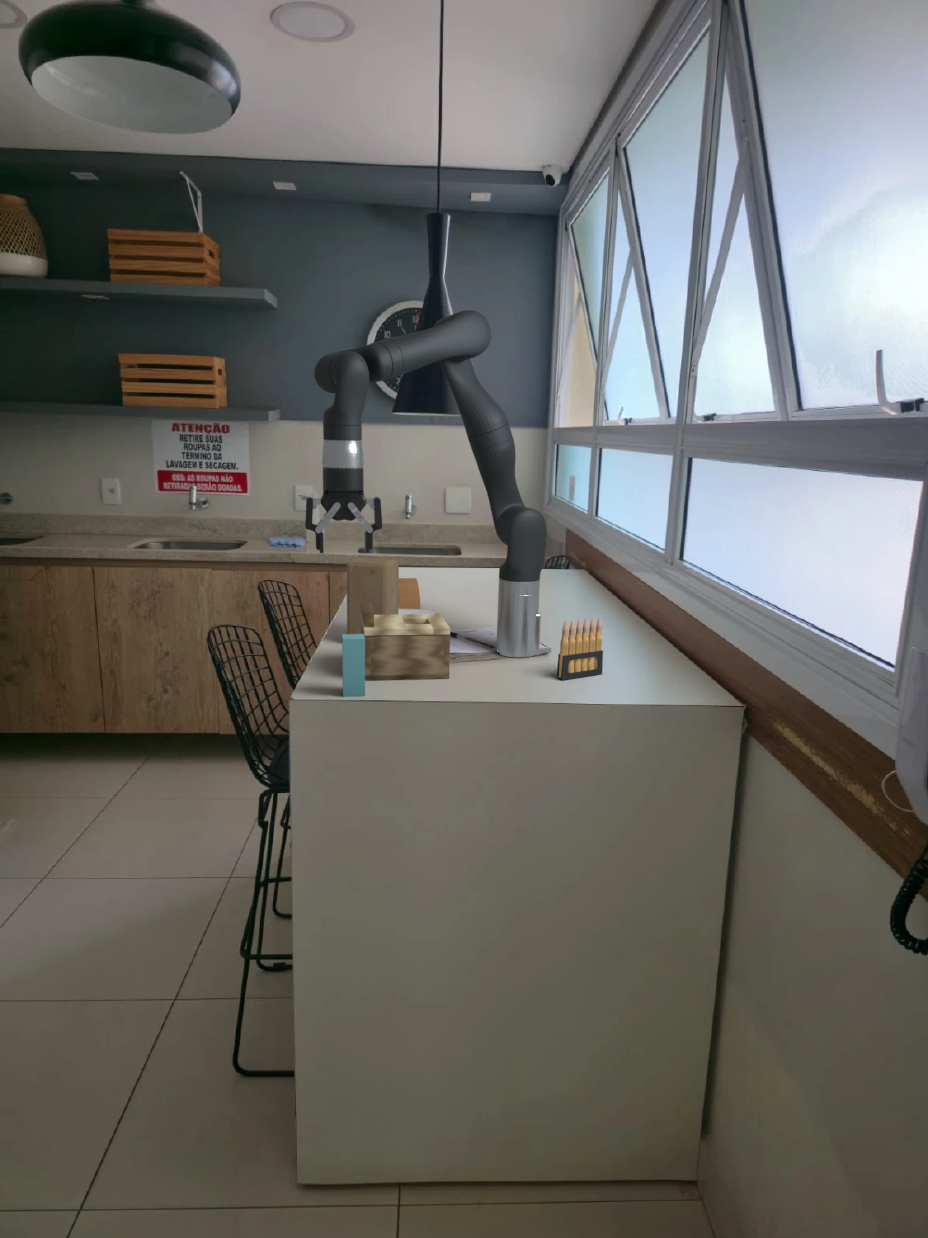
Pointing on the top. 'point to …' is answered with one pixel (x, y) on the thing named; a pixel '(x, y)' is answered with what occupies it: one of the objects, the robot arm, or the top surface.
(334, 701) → the top surface
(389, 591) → the wooden block
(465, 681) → the top surface
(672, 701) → the top surface
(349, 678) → the teal block
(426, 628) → the lid
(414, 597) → the arch
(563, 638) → the ammunition clip
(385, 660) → the wooden box
